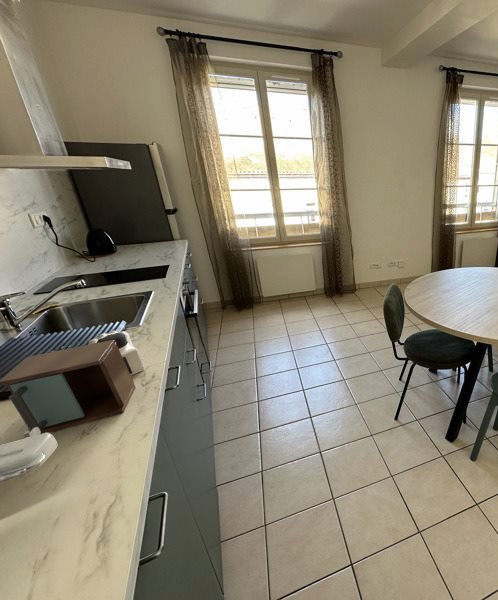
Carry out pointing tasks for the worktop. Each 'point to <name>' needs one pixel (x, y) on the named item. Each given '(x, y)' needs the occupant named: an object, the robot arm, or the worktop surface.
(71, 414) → the sliding door
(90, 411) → the cupboard
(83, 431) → the worktop surface
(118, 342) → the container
